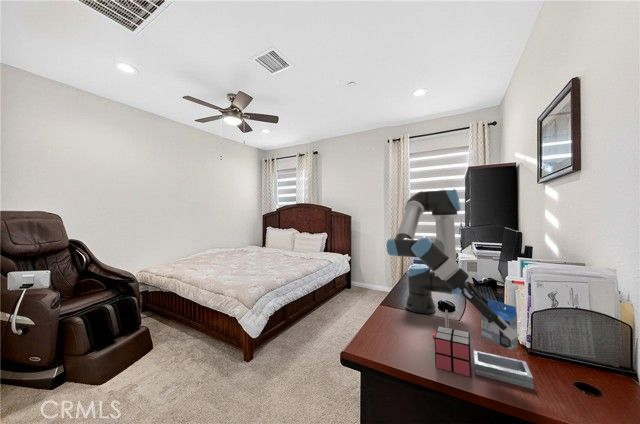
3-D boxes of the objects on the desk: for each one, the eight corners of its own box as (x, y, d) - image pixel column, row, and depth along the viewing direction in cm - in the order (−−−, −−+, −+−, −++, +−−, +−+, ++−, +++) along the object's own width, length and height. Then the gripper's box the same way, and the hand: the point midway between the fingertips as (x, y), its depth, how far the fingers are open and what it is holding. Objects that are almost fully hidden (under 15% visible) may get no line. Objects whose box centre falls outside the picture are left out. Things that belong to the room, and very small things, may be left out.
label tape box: (480, 337, 79) (479, 300, 79) (488, 335, 81) (487, 298, 81) (511, 350, 71) (509, 308, 71) (519, 347, 72) (517, 306, 73)
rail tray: (473, 358, 84) (473, 349, 84) (525, 370, 77) (525, 360, 77) (475, 374, 75) (475, 364, 75) (533, 389, 68) (533, 378, 68)
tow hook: (430, 333, 103) (437, 343, 94) (428, 303, 104) (435, 309, 95) (450, 335, 102) (460, 345, 93) (449, 304, 103) (458, 310, 94)
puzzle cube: (471, 378, 73) (469, 345, 74) (435, 368, 79) (434, 337, 79) (470, 361, 82) (469, 332, 82) (438, 353, 87) (437, 325, 88)
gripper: (444, 275, 93) (497, 325, 84) (440, 288, 75) (507, 354, 66) (459, 262, 91) (515, 313, 82) (459, 272, 73) (531, 339, 64)
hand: (512, 331), depth 74 cm, fingers closed on label tape box, 8 cm apart
